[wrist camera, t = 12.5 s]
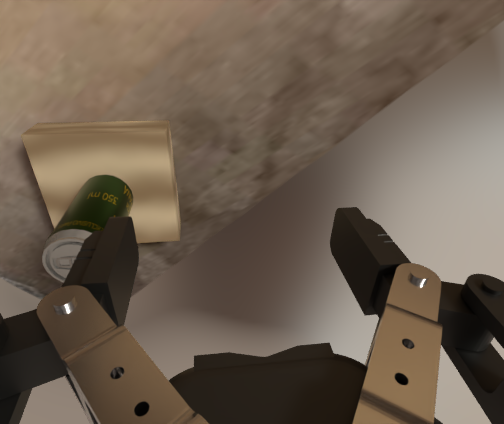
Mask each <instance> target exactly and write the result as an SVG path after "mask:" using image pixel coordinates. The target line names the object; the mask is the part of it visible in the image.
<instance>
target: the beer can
mask: <svg viewBox="0 0 504 424" xmlns="http://www.w3.org/2000/svg"><path fill="white" fill-rule="evenodd" d="M132 205H133V194H132V191H131V189H130V187H129V186H128V185H127V183H126V182H125V181H123V180H122V179H121V178H119V177H116V176H114V175H108V174H105V175H97V176H94V177H92V178H90V179H89V180H88V181H87V182H86V183H85V184H84V185H83V186H82V188H81V189H80V191H79V193H78V194H77V196H76V197H75V199H74V200H73V202H72V203H71V205H70V206H69V208H68V209H67V211H66V212H65V214H64V215H63V217H62V218H61V220H60V221H59V223H58V224H57V226H56V227H55V229H54V230H53V232H52V233H51V235H50V236H49V238H48V239H47V241H46V244H45V246H44V253H43V255H42V262H43V266H44V267H45V269H46V271H47V272H48V273H49V274H50V275H51V276H52V277H53V278H55V279H57V280H59V281H61V282H63V283H64V281H65V279H66V277H67V275H68V273H69V271H70V269H71V267H72V265H73V263H74V261H75V260H76V257H77V255H78V253H79V251H80V249H81V247H82V245H83V242H84V240H85V239H86V238H87V237H89V236H90V235H91V234H92V233H93V232H94V231H104V228H105V226H106V224H107V221H108V219H109V218H110V217H124V216H129V214H130V211H131V208H132Z"/></svg>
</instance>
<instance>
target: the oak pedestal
mask: <svg viewBox="0 0 504 424" xmlns="http://www.w3.org/2000/svg"><path fill="white" fill-rule="evenodd" d="M21 137H22V140H23V143H24V146H25V148H26V151H27V154H28V157H29V160H30V162H31V165H32V168H33V171H34V173H35V176H36V179H37V182H38V185H39V187H40V190H41V193H42V196H43V198H44V201H45V204H46V207H47V210H48V212H49V215H50V218H51V221H52V223H53V226H54V229H55V227H56V226H57V224H58V223H59V221H60V220H61V218H62V217H63V215H64V214H65V212H66V211H67V209H68V208H69V206H70V205H71V203H72V202H73V200H74V199H75V197H76V196H77V194H78V193H79V191H80V189H81V188H82V186H83V185H84V184H85V183H86V182H87V181H88V180H89V179H90V178H92V177H94V176H97V175H105V174H108V175H114V176H116V177H119V178H121V179H122V180H123V181H125V182H126V183H127V185H128V186H129V187H130V189H131V191H132V194H133V205H132V208H131V211H130V214H129V216H131V217H132V220H133V224H134V230H135V235H136V240H137V243H149V242H164V241H179V239H180V228H181V219H180V210H179V202H178V193H177V185H176V176H175V168H174V159H173V150H172V142H171V133H170V125H169V120H163V121H118V122H74V123H37V124H36V125H35V126H33V127H32V128H30V129H29V130H27V131H26V132H25V133H23V134H22V135H21Z"/></svg>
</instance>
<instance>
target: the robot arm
mask: <svg viewBox="0 0 504 424" xmlns="http://www.w3.org/2000/svg"><path fill="white" fill-rule="evenodd" d="M330 247H331V252H332V255H333V256H334V258H335V260H336V262H337V264H338V266H339V268H340V270H341V272H342V273H343V275H344V277H345V279H346V281H347V283H348V284H349V287H350V288H351V290H352V292H353V294H354V296H355V298H356V300H357V301H358V303H359V305H360V307H361V309H362V311H363V313H364V314H365V315H374V314H377V315H378V317H379V321H378V324H377V327H376V330H375V333H374V337H373V340H372V343H371V346H370V350H369V353H368V356H367V360H366V363H365V365H364V364H362V363H360V362H358V361H356V360H354V359H352V358H349V357H346V356H342V355H339V354H334V353H333V351H332V348H331V346H330V343H321V344H311V345H301V346H296V347H293V348H290V349H287V350H284V351H282V352H279V353H276V354H273V355H271V356H268V357H258V356H251V355H244V354H236V353H219V354H208V355H197V356H194V367H193V368H190V369H187V370H185V371H183V372H181V373H179V374H178V375H176V376H174V377H173V378H171V379H170V380H169V381H168V380H167V378H166V377H165V376H164V374H163V373H162V372H161V371H160V369H159V368H158V367H157V366H156V365H155V363H154V362H153V361H152V360H151V358H150V357H149V356H148V355H147V353H146V352H145V351H144V350H143V348H142V347H141V346H140V345H139V343H138V342H137V341H136V340H135V338H134V337H133V336H132V335H131V333H130V332H129V331H128V330H127V329H126V327H125V326H124V322H125V318H126V313H127V310H128V305H129V301H130V297H131V293H132V289H133V284H134V280H135V276H136V272H137V267H138V261H139V253H138V246H137V240H136V235H135V230H134V224H133V220H132V217H131V216H124V217H110V218H109V219H108V221H107V224H106V226H105V228H104V231H94V232H93V233H92V234H91V235H90V236H89V237H87V238H86V239H85V240H84V242H83V245H82V247H81V249H80V251H79V253H78V255H77V257H76V260H75V261H74V263H73V265H72V267H71V269H70V271H69V273H68V275H67V277H66V279H65V281H64V283H63V285H62V287H61V288H59V289H56V290H54V291H52V292H51V293H49V294H48V295H46V296H45V297H44V298H43V299H42V300H41V301H40V303H39V304H38V306H37V309H35V310H33V311H29V312H26V313H23V314H19V315H16V316H13V317H9V318H6V319H3V317H2V316H1V314H0V424H19V423H20V420H21V417H22V415H23V412H24V409H25V407H26V404H27V401H28V398H29V396H30V393H31V390H32V388H33V387H36V386H39V385H42V384H44V383H47V382H50V381H52V380H55V379H57V378H60V377H63V376H65V378H66V380H67V381H68V383H69V385H70V387H71V389H72V391H73V392H74V394H75V396H76V398H77V400H78V402H79V403H80V405H81V407H82V409H83V411H84V413H85V415H86V416H87V418H88V420H89V422H90V424H443V423H441V422H440V421H439V420H437V419H436V418H435V417H434V414H435V403H436V392H437V380H438V370H439V360H440V348H441V345H442V347H443V348H444V350H445V352H446V353H447V354H448V356H449V358H450V359H451V361H452V362H453V364H454V365H455V367H456V369H457V370H458V372H459V373H460V375H461V376H462V378H463V380H464V381H465V383H466V384H467V386H468V387H469V389H470V390H471V392H472V394H473V395H474V397H475V398H476V400H477V401H478V403H479V404H480V406H481V408H482V409H483V411H484V412H485V414H486V415H487V417H488V419H489V420H490V422H491V423H492V424H504V360H503V358H502V357H501V356H500V355H499V353H498V352H497V351H496V350H495V348H494V347H493V346H492V344H491V341H492V340H493V338H494V337H495V339H496V340H497V341H498V342H499V344H500V345H501V346H502V347H503V348H504V282H503V281H501V280H499V279H497V278H494V277H491V276H489V275H484V274H474V275H471V276H469V277H468V279H467V280H466V282H465V284H464V285H462V284H455V283H449V282H443V281H441V280H440V278H439V277H438V276H437V274H435V273H434V272H433V271H432V270H430V269H428V268H426V267H424V266H422V265H419V264H414V263H411V262H410V261H409V260H408V258H407V257H406V256H405V255H404V254H403V252H402V251H401V250H400V249H399V248H398V246H397V245H396V244H395V243H394V242H393V240H392V239H391V238H390V236H388V235H387V233H386V232H385V230H384V229H383V228H382V227H381V226H380V225H379V224H377V223H375V222H374V221H373V220H371V219H366V218H365V216H364V215H363V214H362V213H361V211H360V210H359V209H358V208H357V207H352V208H338V209H337V210H336V214H335V218H334V223H333V229H332V233H331V239H330Z"/></svg>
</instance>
